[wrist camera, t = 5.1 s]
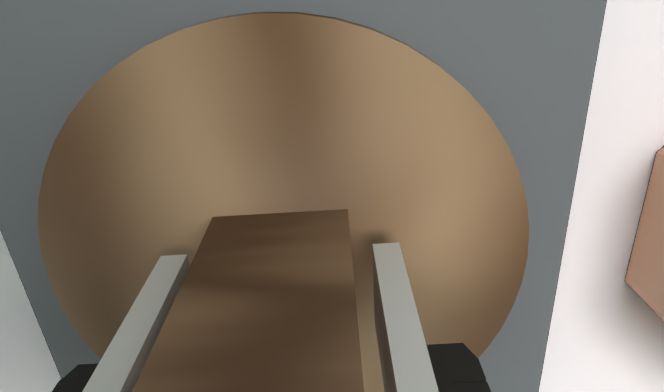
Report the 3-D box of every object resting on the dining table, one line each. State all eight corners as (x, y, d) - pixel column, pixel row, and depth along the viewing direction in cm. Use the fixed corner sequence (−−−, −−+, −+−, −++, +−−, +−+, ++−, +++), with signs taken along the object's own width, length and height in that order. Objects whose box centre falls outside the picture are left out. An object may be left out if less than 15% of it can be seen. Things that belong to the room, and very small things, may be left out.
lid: (119, 425, 19) (-30, 754, 11) (-24, 29, 13) (-630, 134, 5) (497, 406, 19) (623, 728, 11) (549, -7, 12) (956, 37, 4)
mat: (99, 424, 20) (88, 445, 19) (-68, -10, 13) (-98, -8, 12) (523, 402, 20) (533, 422, 19) (596, -54, 13) (616, -55, 12)
